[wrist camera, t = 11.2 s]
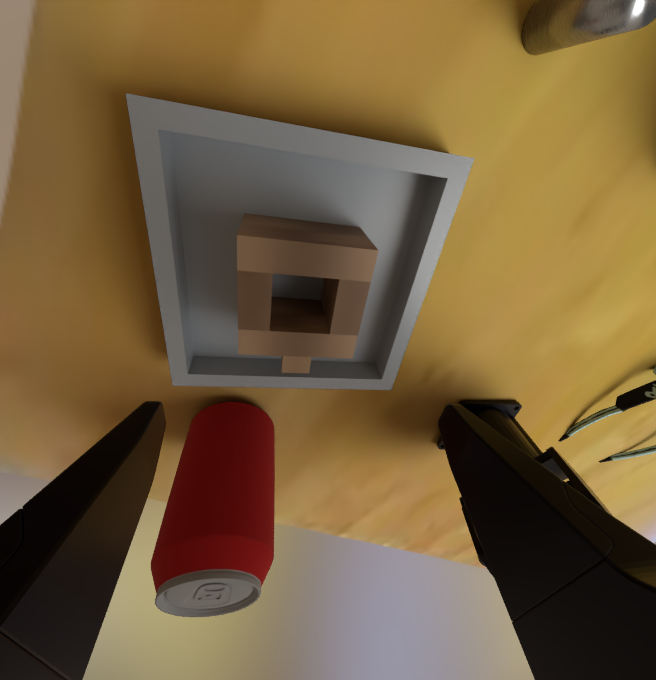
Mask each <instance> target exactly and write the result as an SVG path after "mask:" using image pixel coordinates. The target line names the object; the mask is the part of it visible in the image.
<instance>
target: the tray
mask: <svg viewBox="0 0 656 680" xmlns="http://www.w3.org/2000/svg"><path fill="white" fill-rule="evenodd" d="M126 99H127V105H128V111H129V118H130V124H131V130H132V136H133V143H134V149H135V155H136V161H137V167H138V174H139V180H140V186H141V192H142V199H143V205H144V211H145V217H146V224H147V230H148V236H149V242H150V249H151V255H152V261H153V267H154V273H155V280H156V286H157V292H158V298H159V305H160V311H161V317H162V323H163V330H164V336H165V342H166V348H167V355H168V361H169V367H170V373H171V379H172V386H215V387H264V388H312V389H360V390H391V389H392V387H393V384H394V381H395V378H396V375H397V373H398V370H399V367H400V364H401V362H402V359H403V356H404V353H405V350H406V348H407V345H408V342H409V339H410V337H411V334H412V331H413V328H414V325H415V323H416V320H417V317H418V314H419V311H420V309H421V306H422V303H423V300H424V298H425V295H426V292H427V289H428V286H429V284H430V281H431V278H432V275H433V272H434V270H435V267H436V264H437V261H438V259H439V256H440V253H441V250H442V247H443V245H444V242H445V239H446V236H447V233H448V231H449V228H450V225H451V222H452V220H453V217H454V214H455V211H456V208H457V206H458V203H459V200H460V197H461V194H462V192H463V189H464V186H465V183H466V181H467V178H468V175H469V172H470V169H471V167H472V164H473V161H474V158H470V157H464V156H459V155H454V154H448V153H443V152H438V151H432V150H427V149H422V148H416V147H411V146H406V145H400V144H395V143H390V142H384V141H379V140H374V139H368V138H363V137H358V136H352V135H347V134H342V133H336V132H331V131H325V130H320V129H315V128H309V127H304V126H299V125H293V124H288V123H283V122H277V121H272V120H267V119H261V118H256V117H251V116H245V115H240V114H235V113H229V112H224V111H219V110H213V109H208V108H203V107H197V106H192V105H187V104H181V103H176V102H171V101H165V100H160V99H155V98H149V97H144V96H139V95H133V94H128V93H126ZM244 213H247V214H256V215H264V216H272V217H280V218H289V219H297V220H305V221H313V222H321V223H330V224H338V225H346V226H354V227H360V228H361V229H362V230H363V232H364V233H365V234H366V235H367V237H368V238H369V239H370V240H371V242H372V243H373V244H374V245H375V247H376V248H377V249H378V250H379V251H378V255H377V259H376V263H375V267H374V272H373V276H372V280H371V284H370V288H369V292H368V296H367V301H366V305H365V309H364V313H363V317H362V321H361V325H360V330H359V334H358V338H357V342H356V346H355V350H354V354H353V359H351V358H323V357H311V364H310V371H309V373H282V368H281V356H269V355H241V354H238V289H237V233H238V230H239V228H240V225H241V222H242V219H243V216H244ZM323 284H324V278H319V277H307V276H296V275H284V274H273V280H272V297H285V298H298V299H312V300H321V297H322V291H323Z"/></svg>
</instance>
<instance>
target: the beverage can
mask: <svg viewBox="0 0 656 680" xmlns="http://www.w3.org/2000/svg"><path fill="white" fill-rule="evenodd" d="M274 481H275V467H274V425H273V422H272V420H271V418H270V417H269V416H268V415H267V414H266V413H265V412H264V411H263V410H261V409H259V408H258V407H255V406H253V405H250V404H246V403H241V402H223V403H218V404H214V405H211V406H209V407H207V408H205V409H203V410H201V411H200V412H199V413H198V414H197V415H196V416H195V417H194V418H193V420H192V422H191V425H190V428H189V431H188V434H187V438H186V441H185V444H184V448H183V451H182V454H181V458H180V461H179V465H178V468H177V471H176V475H175V478H174V482H173V485H172V489H171V492H170V496H169V499H168V503H167V506H166V510H165V513H164V517H163V521H162V525H161V528H160V531H159V535H158V539H157V542H156V546H155V550H154V553H153V557H152V560H151V571H152V576H153V580H154V585H155V589H156V593H157V595H156V599H155V604H156V606H157V607H158V609H160V610H161V611H163V612H165V613H168V614H172V615H175V616H182V617H209V616H217V615H223V614H227V613H231V612H235V611H238V610H241V609H243V608H246V607H248V606H249V605H251V604H253V603H254V602H255V601H256V600H258V598H259V597H260V593H261V586H262V584H263V582H264V580H265V578H266V575H267V573H268V571H269V569H270V566H271V564H272V562H273V558H274Z"/></svg>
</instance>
